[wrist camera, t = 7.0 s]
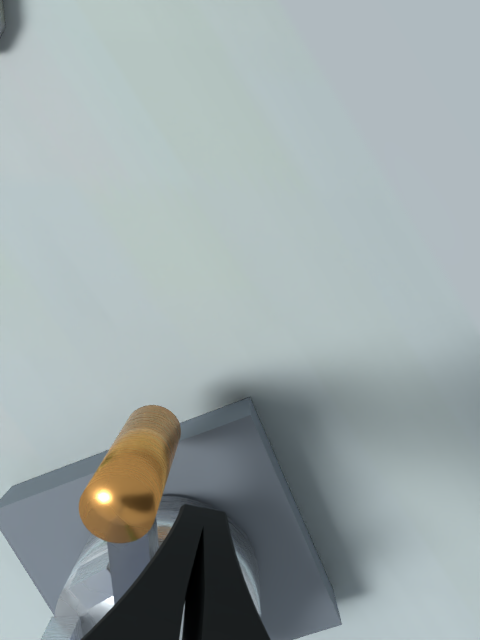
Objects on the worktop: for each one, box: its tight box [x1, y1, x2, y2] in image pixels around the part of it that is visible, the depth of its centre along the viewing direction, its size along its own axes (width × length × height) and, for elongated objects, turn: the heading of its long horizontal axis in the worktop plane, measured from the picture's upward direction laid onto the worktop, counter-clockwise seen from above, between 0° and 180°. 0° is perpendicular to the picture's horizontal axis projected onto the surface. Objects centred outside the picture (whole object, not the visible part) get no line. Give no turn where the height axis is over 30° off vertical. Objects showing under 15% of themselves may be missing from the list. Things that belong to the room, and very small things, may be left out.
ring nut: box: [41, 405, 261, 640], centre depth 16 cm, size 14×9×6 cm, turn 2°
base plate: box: [0, 397, 342, 640], centre depth 21 cm, size 13×14×2 cm
